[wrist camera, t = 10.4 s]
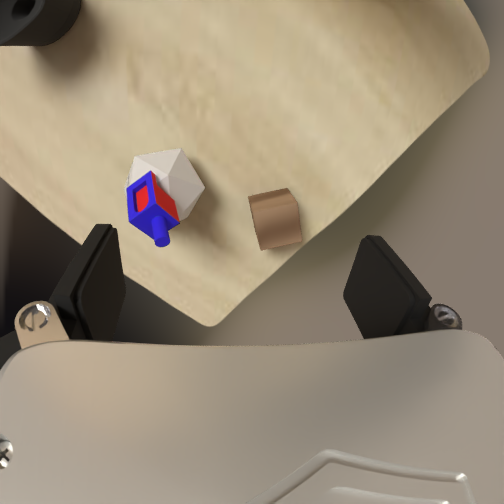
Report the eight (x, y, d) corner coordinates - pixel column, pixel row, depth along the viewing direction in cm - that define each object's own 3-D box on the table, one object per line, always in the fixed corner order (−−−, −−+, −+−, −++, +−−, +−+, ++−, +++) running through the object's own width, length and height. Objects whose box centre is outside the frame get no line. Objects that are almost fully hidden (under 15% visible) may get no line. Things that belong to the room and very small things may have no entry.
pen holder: (18, 12, 18) (-26, 4, 9) (77, -29, 17) (40, -53, 9) (32, 62, 23) (-16, 64, 14) (92, 22, 22) (53, 5, 14)
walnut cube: (247, 196, 37) (252, 212, 32) (287, 187, 37) (297, 202, 32) (255, 231, 39) (260, 250, 35) (292, 222, 39) (302, 241, 35)
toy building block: (148, 206, 29) (158, 260, 25) (126, 188, 26) (131, 243, 22) (172, 190, 28) (185, 243, 25) (150, 169, 25) (159, 224, 22)
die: (181, 128, 32) (113, 145, 25) (231, 176, 31) (168, 206, 24) (158, 176, 37) (99, 202, 30) (201, 221, 37) (144, 257, 30)
